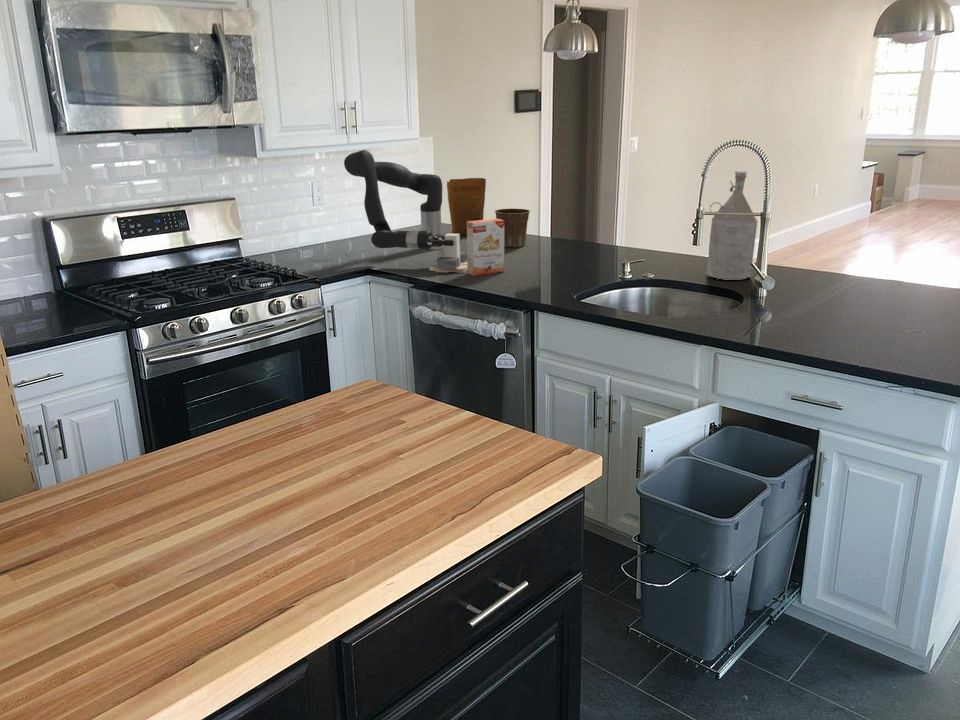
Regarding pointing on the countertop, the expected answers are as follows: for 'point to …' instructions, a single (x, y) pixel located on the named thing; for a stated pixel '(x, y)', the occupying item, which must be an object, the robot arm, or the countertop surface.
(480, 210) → the pancake mix bag
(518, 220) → the plant pot
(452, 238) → the white block
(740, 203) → the grey jug
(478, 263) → the cracker box
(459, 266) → the board
